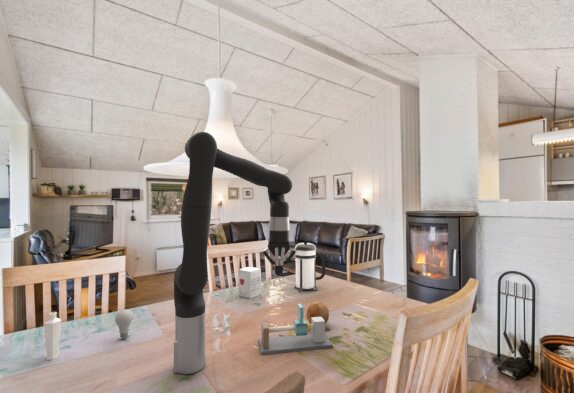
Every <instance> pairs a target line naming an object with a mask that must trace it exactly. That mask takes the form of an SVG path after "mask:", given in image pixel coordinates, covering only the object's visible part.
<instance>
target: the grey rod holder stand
mask: <svg viewBox="0 0 574 393" xmlns="http://www.w3.org/2000/svg"><path fill="white" fill-rule="evenodd" d="M306 323H307V335H303V336H296V334H294V335H291V334H290V335H283V336H282V335H281V336H271V337H270V333H279V332H291V331H294V330H296V325H295V326H294V325H285V326H273V327H272V326H271V327H269V324H268V321H261V337H260V338H259V337H258V345H259V350H260V351H259V352H260V355H270V354H279V353H280V354H281V353H290V352H299V351H310V350H321V349H330V348H333V347H334V346H333V343H332V341H331V340H330V339H329V337H328V336H327V335H326V324H325V321H324V319H323V318H322V317H311V324H310V323H309V322H308V321H306ZM308 332H311V333H308Z"/></svg>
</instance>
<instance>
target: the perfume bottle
mask: <svg viewBox="0 0 574 393" xmlns="http://www.w3.org/2000/svg"><path fill="white" fill-rule="evenodd" d="M57 314H58V312H57V311H52V312H50V313H49V314H48V315H49V319H48V320H46V321H45V322H44V323H43V324H44V326H43V327H44V336H45V337H44V338H45V347H46V355H45V360H46V361H47V360H49V361H50V360H51V361H52V360H55V359H57V358H59V357H60V356H61V355H60V352H59V349H60V339H61V328H62V327H61V326H62V319H61V318H59V317H57Z"/></svg>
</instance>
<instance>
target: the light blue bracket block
mask: <svg viewBox="0 0 574 393" xmlns="http://www.w3.org/2000/svg"><path fill="white" fill-rule="evenodd" d="M306 322H307V321H306V319H305V318H304V306H303V305H302V303H297V319H294V320H293V326H295V325H296V330H293V333H294V335H296V336H303V335H307V334H308V332H307V323H306Z"/></svg>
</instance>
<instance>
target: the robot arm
mask: <svg viewBox="0 0 574 393" xmlns="http://www.w3.org/2000/svg"><path fill="white" fill-rule="evenodd" d="M184 153H185V155H186V157H187V158H188V159H189V171H188V177H187V178H188V179H187V181H186V185H185V188H184V193H183V197H182V202H181V210H180V232H181V239H182V248H183V249H182V250H183V251H182V259H181V263H180V264H178V266H177V267H176V269H175V270H174V274H173V302H174V310H175V311H174V312H175V314H174V316H175V319H174V320H175V322H174V323H175V324H174V325H175V326H174V327H175V329H174V330H175V331H174V333H175V335H174V336H175V337H174V340H173V373H174V374H175V373H176V374H179V375H180V374H181V375H192V374H194V373H198V372H201V370H203V369H204V368H205V366H206V301H205V296H204V289H205V288H206V285H207V283H208V277H209V274H208V247H209V246H208V245H209V238H210V237H209V236H210V230H211V229H210V228H211V218H212V203H213V175H214V169H215V168H216V169H218V170H221V171H224V172H227V173H228V174H232V175H234V176H236V177H237V178H240V179H242V180H244V181H247V182H250V183H251V184H254V185H256V186H259V187H265V188H267V195H268V200H269V204H270V206H269V207H270V208H269V223H268V224H269V226H268V229H269V230H268V233H269V234H268V238H269V239H268V244H267V247H266V248H265V249H263V250H262V251H261V252H262V254H263V256H264V257H265V258H266V259H267V261H268V262H269V264H271V265H274V274H275V275H276V276H278V277H279V276H280V277H281V276H282V275H283V272H284V271H283V270H284V265H287V264H288V263H290V261H291V259H293V257H295V254H296V251H295V249H293V248H292V247H291V245H290V218H289V217H290V215H289V214H290V210H289V209H290V206H289V205H290V204H289V203H288V201H286V199H285V195H287V194H289V193H290V192H291V190H292V189H293V182H292V179H290V177H288V176H287V175H285V174H284V173H281V172H278V171H274V170H271V169H269V168H266V167H265V166H262V165H260V164H258V163H256V162H254V161H251V160H248V159H246V158H243V157H240V156H236V155H232V154H229V153H227V152H225V151H223V150H221V149H219V148H218V144H217V141H216V139H215V138H214V136H213V135H212V134H210V133H209V132H206V131H200V132H199V131H198V132H196V133H194V134H192V135H191V137H189V138H188V139H187V141H186V142H185V145H184ZM270 253H271V254H272V256H273V258H274V260H273V259H272V258H271V256H270ZM287 253H288V254H287ZM286 255H287V256H286ZM285 256H286V257H285Z"/></svg>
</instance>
